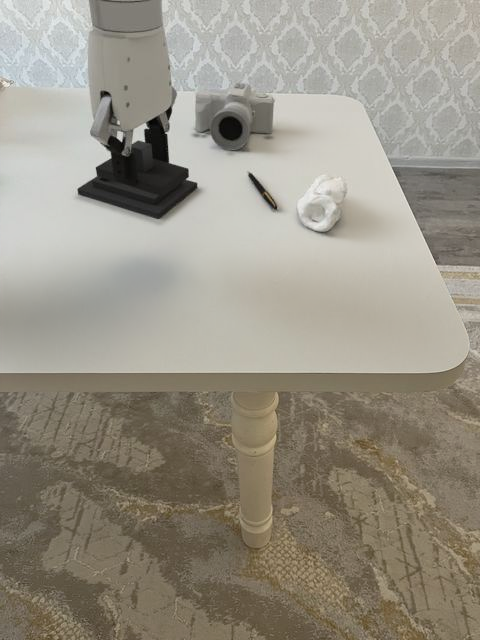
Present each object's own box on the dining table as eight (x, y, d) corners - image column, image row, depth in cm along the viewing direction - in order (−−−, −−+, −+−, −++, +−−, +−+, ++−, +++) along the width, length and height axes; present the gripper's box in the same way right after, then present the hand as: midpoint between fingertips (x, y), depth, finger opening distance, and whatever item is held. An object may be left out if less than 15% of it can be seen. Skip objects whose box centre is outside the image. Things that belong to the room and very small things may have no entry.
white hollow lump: (318, 194, 103) (351, 161, 97) (336, 251, 98) (373, 220, 92) (280, 181, 97) (313, 146, 92) (298, 240, 93) (334, 208, 87)
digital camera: (183, 160, 118) (168, 110, 111) (209, 131, 127) (197, 83, 121) (260, 157, 112) (250, 104, 105) (282, 126, 121) (274, 76, 115)
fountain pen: (244, 174, 106) (244, 166, 105) (250, 173, 107) (250, 166, 106) (273, 213, 97) (274, 205, 96) (280, 212, 97) (280, 204, 96)
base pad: (78, 194, 99) (75, 181, 97) (121, 166, 107) (119, 154, 105) (158, 219, 94) (157, 206, 93) (197, 188, 102) (197, 176, 101)
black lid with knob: (96, 176, 75) (91, 144, 72) (125, 158, 79) (122, 127, 76) (162, 196, 72) (159, 164, 69) (189, 177, 76) (187, 145, 73)
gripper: (145, -8, 70) (157, 141, 82) (42, 25, 58) (73, 192, 70) (199, 2, 67) (203, 154, 80) (103, 38, 56) (124, 209, 68)
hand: (142, 170), depth 75 cm, fingers closed on black lid with knob, 6 cm apart
